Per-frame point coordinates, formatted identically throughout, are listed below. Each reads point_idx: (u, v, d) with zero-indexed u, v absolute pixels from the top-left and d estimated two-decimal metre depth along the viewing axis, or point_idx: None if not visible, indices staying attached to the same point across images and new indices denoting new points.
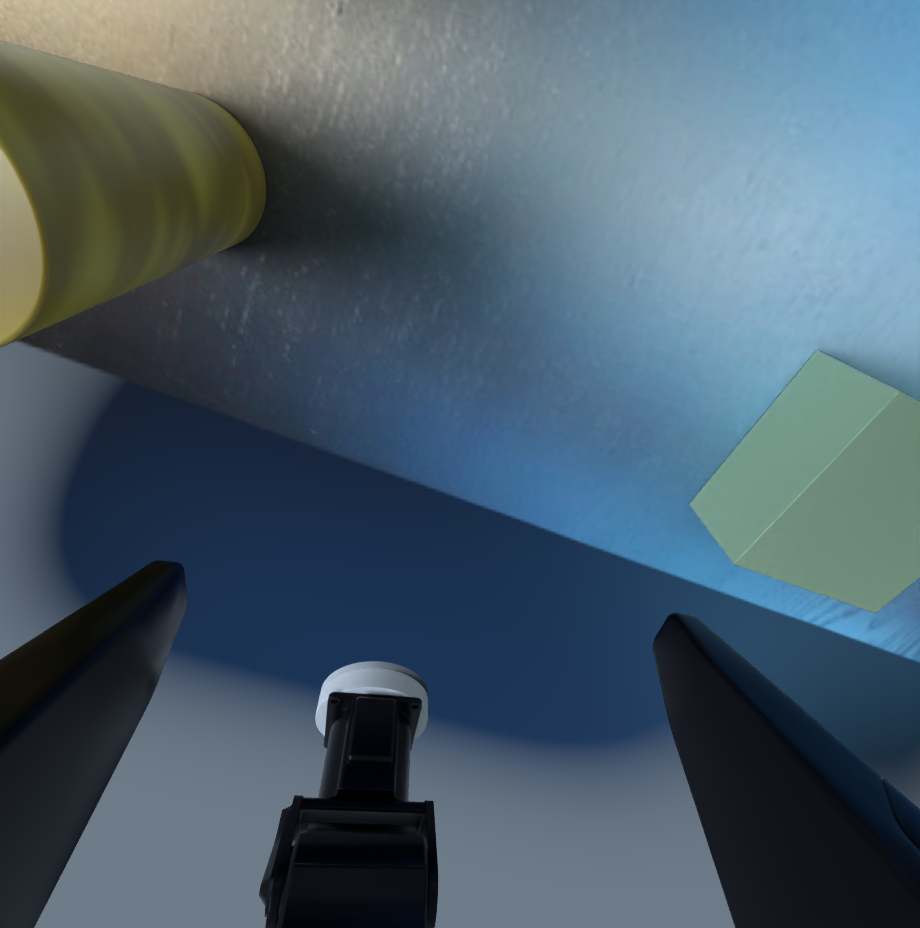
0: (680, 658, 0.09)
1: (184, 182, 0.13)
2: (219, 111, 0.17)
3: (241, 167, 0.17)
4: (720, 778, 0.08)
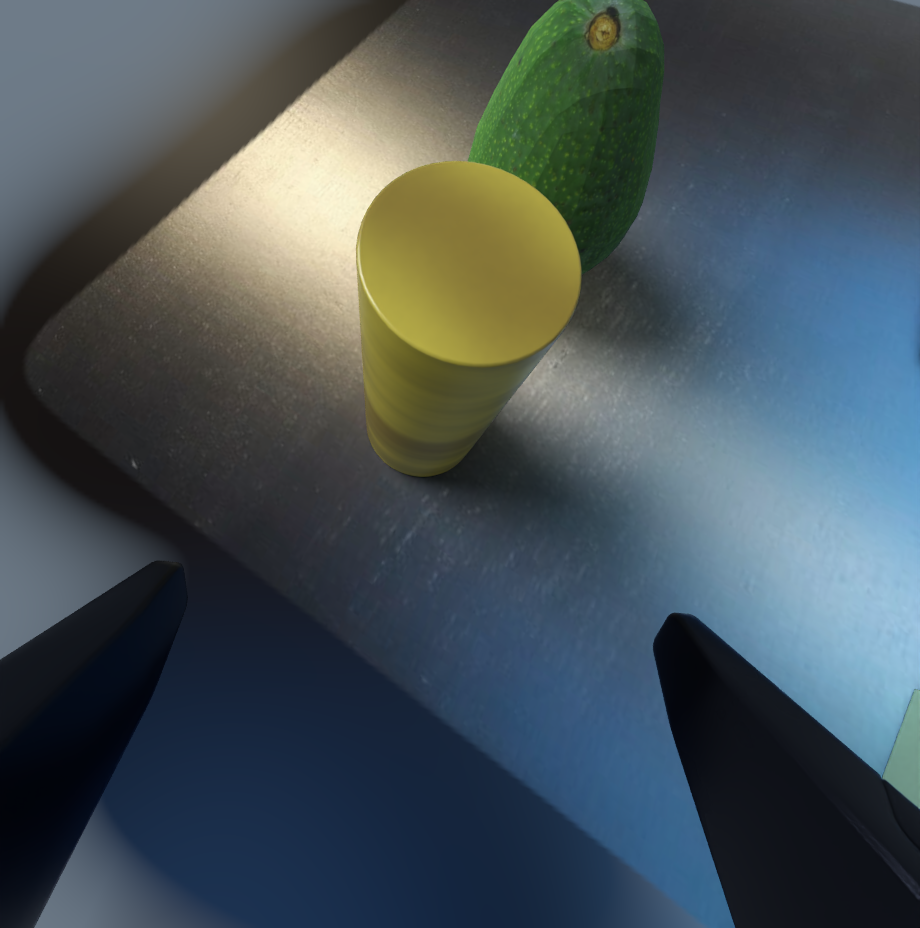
0: (680, 658, 0.09)
1: None
2: None
3: None
4: (720, 778, 0.08)
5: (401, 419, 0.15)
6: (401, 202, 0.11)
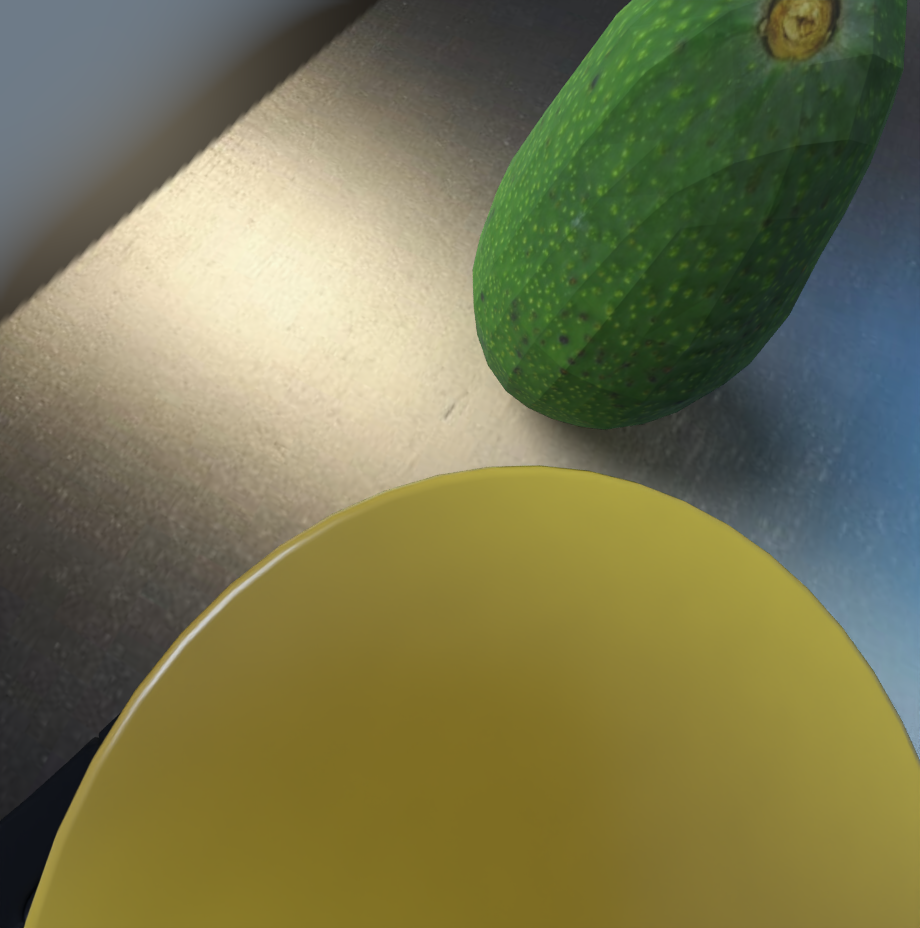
0: None
1: None
2: None
3: None
4: None
5: None
6: (248, 711, 0.03)
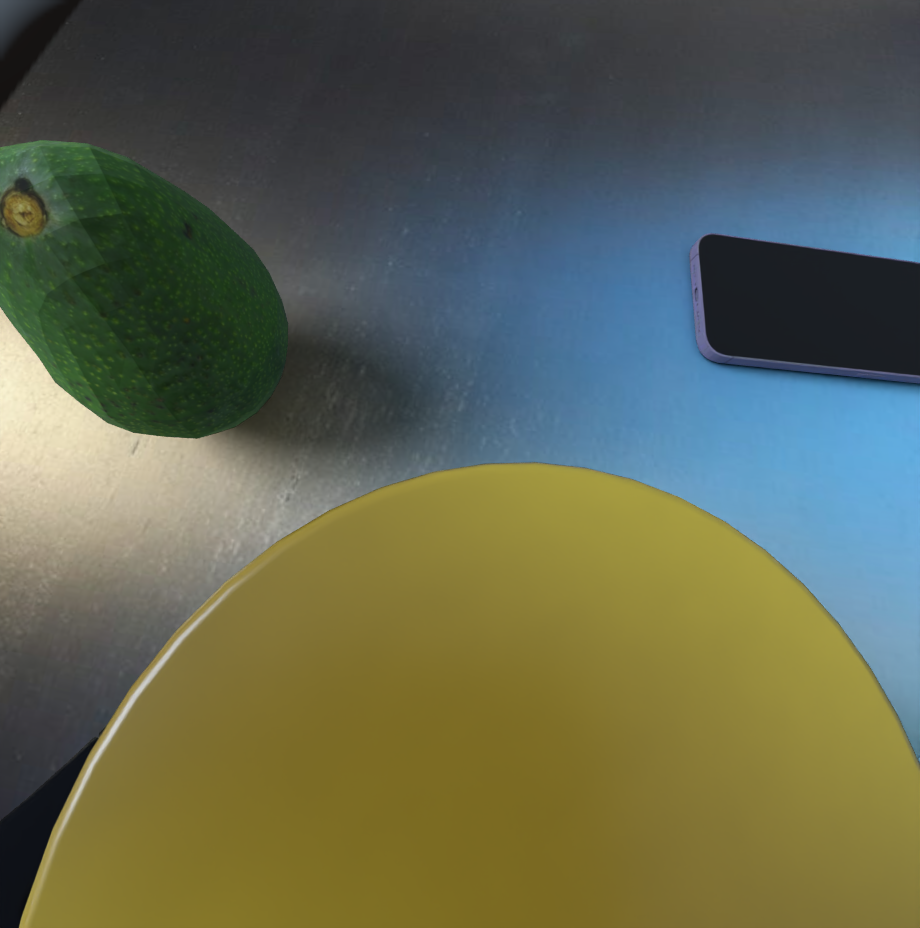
0: None
1: None
2: None
3: None
4: None
5: None
6: (244, 707, 0.03)
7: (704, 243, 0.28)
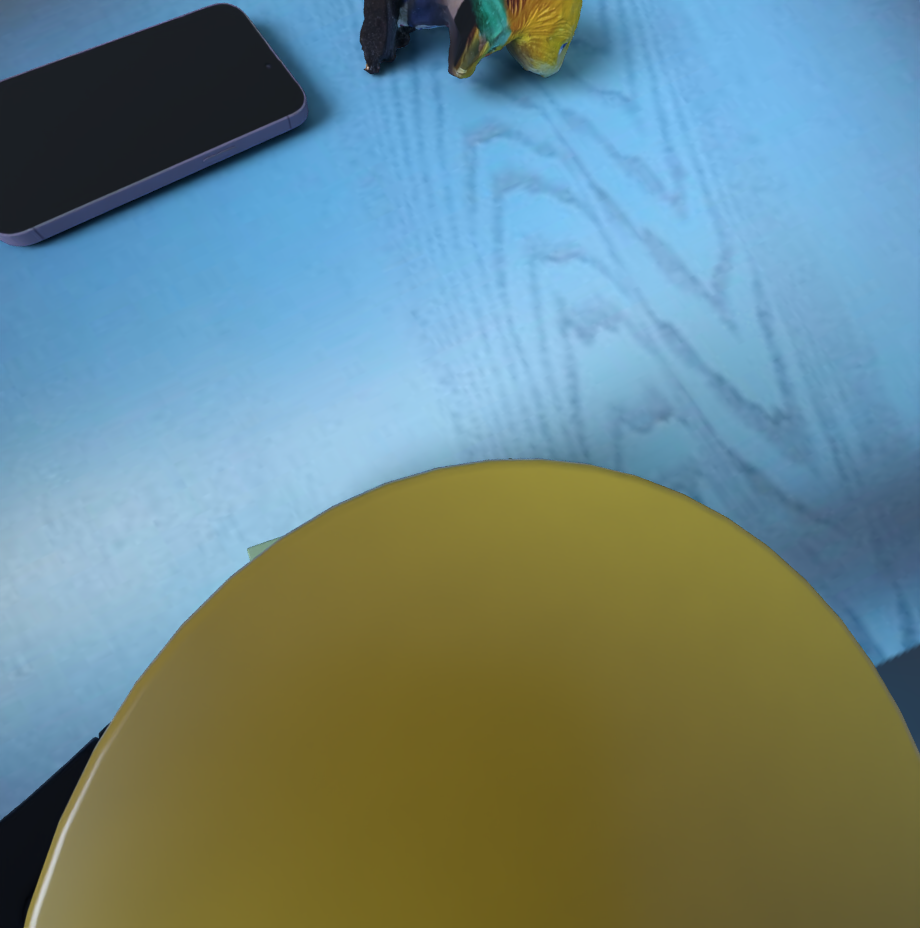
0: None
1: None
2: None
3: None
4: None
5: None
6: (249, 701, 0.03)
7: None
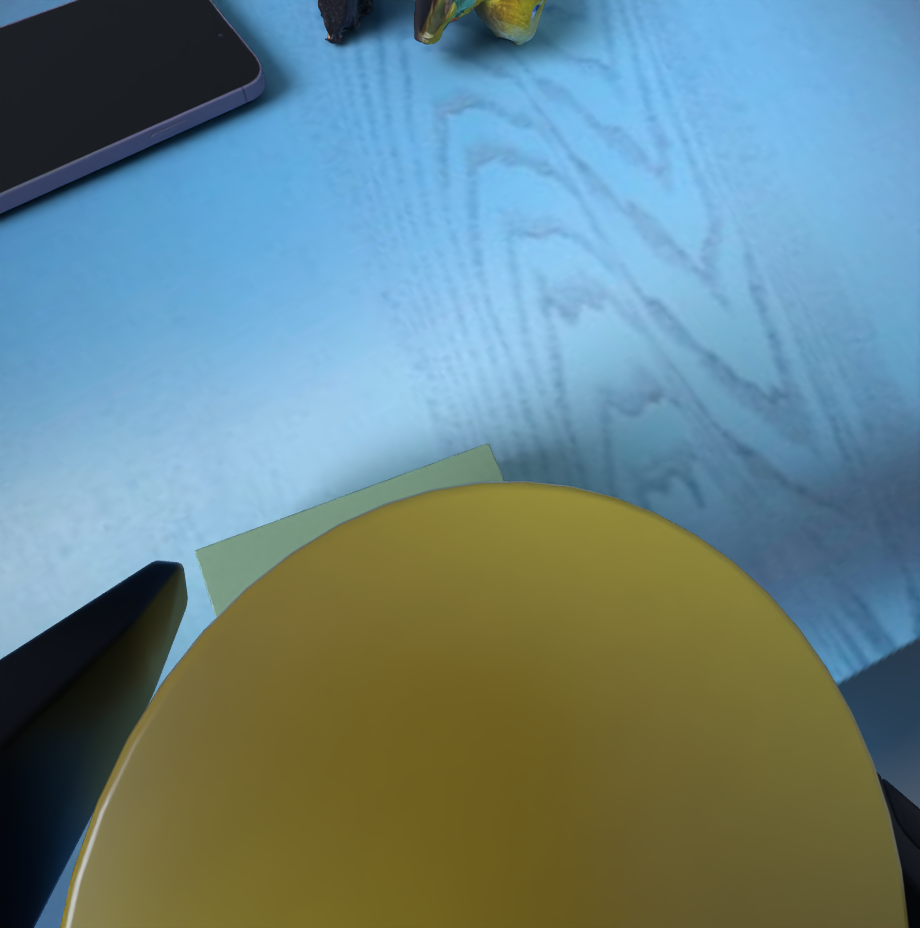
0: None
1: None
2: None
3: None
4: None
5: None
6: (263, 699, 0.03)
7: None
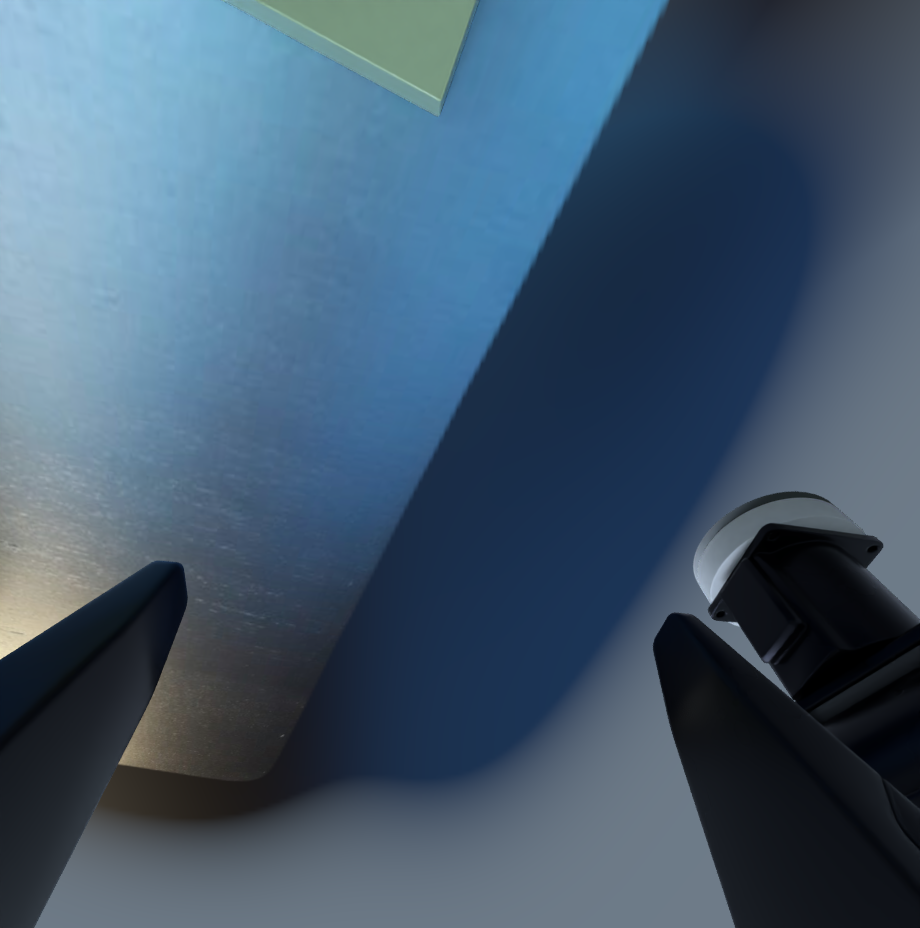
0: (680, 658, 0.09)
1: None
2: None
3: None
4: (720, 778, 0.08)
5: None
6: None
7: None
